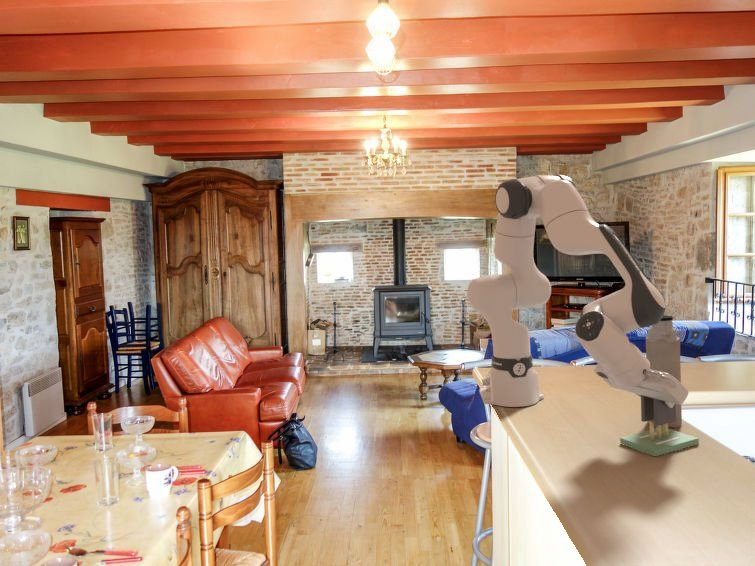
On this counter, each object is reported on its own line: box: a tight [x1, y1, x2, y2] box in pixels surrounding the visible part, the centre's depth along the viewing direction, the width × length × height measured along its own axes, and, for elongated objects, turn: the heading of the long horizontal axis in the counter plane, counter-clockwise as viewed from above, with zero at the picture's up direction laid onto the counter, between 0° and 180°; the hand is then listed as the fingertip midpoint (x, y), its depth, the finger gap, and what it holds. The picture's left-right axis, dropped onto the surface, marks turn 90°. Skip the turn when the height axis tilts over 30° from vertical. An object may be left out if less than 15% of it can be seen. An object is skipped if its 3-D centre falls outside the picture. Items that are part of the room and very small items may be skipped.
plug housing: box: [640, 395, 676, 427], centre depth 141 cm, size 6×4×8 cm
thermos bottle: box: [645, 314, 683, 429], centre depth 155 cm, size 8×8×28 cm
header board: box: [619, 420, 700, 457], centre depth 142 cm, size 14×10×6 cm
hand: (660, 402), depth 141 cm, fingers closed on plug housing, 4 cm apart
